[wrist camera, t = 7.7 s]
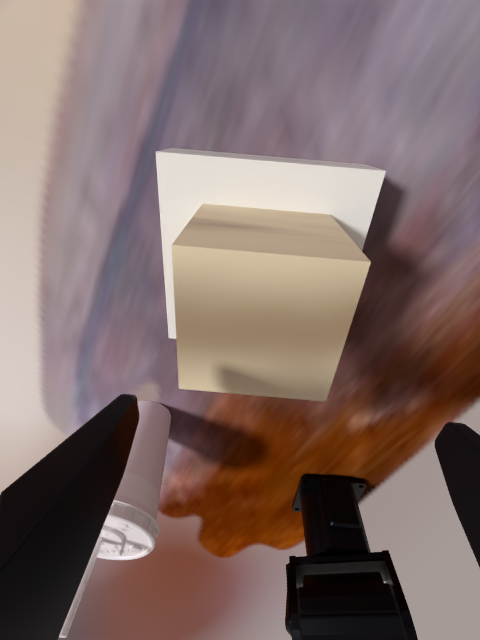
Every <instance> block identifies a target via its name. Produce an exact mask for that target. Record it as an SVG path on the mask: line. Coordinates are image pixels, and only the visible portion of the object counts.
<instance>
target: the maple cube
mask: <svg viewBox="0 0 480 640" xmlns="http://www.w3.org/2000/svg"><path fill="white" fill-rule="evenodd" d="M172 264H173V283H174V302H175V321H176V340H177V359H178V378H179V389H189V390H200V391H212V392H223V393H235V394H246V395H257V396H269V397H280V398H292V399H303V400H314V401H326V400H327V397H328V394H329V391H330V388H331V385H332V381H333V378H334V375H335V372H336V369H337V366H338V363H339V360H340V357H341V354H342V351H343V347H344V344H345V341H346V338H347V335H348V332H349V329H350V326H351V323H352V320H353V317H354V313H355V310H356V307H357V304H358V301H359V298H360V295H361V292H362V289H363V286H364V283H365V279H366V276H367V273H368V270H369V267H370V264H371V261H370V260H369V259H368V258H367V257H366V256H365V254H364V253H363V252H362V251H361V250H360V249H359V247H358V246H357V245H356V244H355V243H354V242H353V240H352V239H351V238H350V237H349V236H348V235H347V233H346V232H345V231H344V230H343V229H342V228H341V226H340V225H339V224H338V223H337V222H336V221H335V219H334V218H333V217H332V216H331V215H330V214H319V213H307V212H296V211H284V210H272V209H261V208H249V207H237V206H226V205H214V204H202V205H201V206H200V207H199V209H198V210H197V211H196V213H195V214H194V215H193V217H192V218H191V219H190V221H189V222H188V224H187V225H186V226H185V228H184V229H183V230H182V232H181V233H180V234H179V236H178V237H177V238H176V240H175V241H174V242H173V244H172Z"/></svg>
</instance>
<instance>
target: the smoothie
mask: <svg viewBox="0 0 480 640" xmlns="http://www.w3.org/2000/svg"><path fill="white" fill-rule="evenodd" d="M138 408H139V415H140V416H139V423H138V426H137V430H136V433H135V437H134V440H133V444H132V448H131V451H130V455H129V458H128V462H127V465H126V469H125V472H124V475H123V478H122V480H121V483H120V485H119V488H118V490H117V493H116V495H115V498H114V500H113V503H112V505H111V508H110V510H109V513H108V515H107V518H106V520H105V523H104V525H103V528H102V530H101V533H100V535H99V538H98V540H97V543H96V545H95V548H94V550H93V553H92V555H91V558H90V560H89V563H88V565H87V568H86V570H85V573H84V575H83V578H82V580H81V583H80V585H79V588H78V590H77V593H76V595H75V598H74V600H73V603H72V605H71V608H70V610H69V612H68V615H67V617H66V620H65V622H64V625H63V627H62V630H61V632H60V635H59V637H61V638H66V637H67V635H68V632H69V629H70V627H71V624H72V621H73V619H74V616H75V613H76V611H77V608H78V605H79V603H80V600H81V597H82V595H83V592H84V589H85V587H86V584H87V582H88V579H89V576H90V574H91V571H92V568H93V566H94V563H95V560H96V558H97V557H98V558H103V559H111V560H130V559H136V558H140V557H143V556H145V555H147V554H149V553H150V552H151V551H152V550H153V549H154V546H155V542H156V538H157V535H158V534H159V525H158V523H157V521H156V517H157V511H158V505H159V499H160V490H161V484H162V477H163V470H164V464H165V457H166V450H167V443H168V437H169V430H170V423H171V414H170V412H169V410H168V409H167V408H166V407H165V406H163V405H162V404H160V403H157V402H154V401H139V402H138Z"/></svg>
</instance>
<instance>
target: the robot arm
mask: <svg viewBox="0 0 480 640" xmlns="http://www.w3.org/2000/svg"><path fill="white" fill-rule="evenodd" d="M139 416H140V415H139V408H138V402H137V397H136V396H135V395H129V394H122V395H120V396H118V397H117V398H116V399H115V400H113V401H112V402H111V403H110V404H109V405H107V406H106V407H105V408H104V409H102V410H101V411H100V412H99V413H98V414H96V415H95V416H94V417H93V418H91V419H90V420H89V421H88V422H87V423H85V424H84V425H83V426H82V427H80V428H79V429H78V430H77V431H76V432H74V433H73V434H72V435H71V436H69V437H68V438H67V439H66V440H65V441H63V442H62V443H61V444H60V445H58V447H56V448H55V449H54V450H52V451H51V452H50V453H49V454H47V455H46V456H45V457H44V458H43V459H41V460H40V461H39V462H38V463H37V464H35V465H34V466H33V467H32V468H31V469H29V470H28V471H27V472H26V473H24V474H23V475H22V476H21V477H19V478H18V479H17V480H16V481H15V482H13V483H12V484H11V485H10V486H9V487H7V488H6V489H5V490H4V491H2V492H1V495H0V640H58V637H59V635H60V632H61V630H62V627H63V625H64V622H65V620H66V617H67V615H68V612H69V610H70V608H71V605H72V603H73V600H74V598H75V595H76V593H77V590H78V588H79V585H80V583H81V580H82V578H83V575H84V573H85V570H86V568H87V565H88V563H89V560H90V558H91V555H92V553H93V550H94V548H95V545H96V543H97V540H98V538H99V535H100V533H101V530H102V528H103V525H104V523H105V520H106V518H107V515H108V513H109V510H110V508H111V505H112V503H113V500H114V498H115V495H116V493H117V490H118V488H119V485H120V483H121V480H122V478H123V475H124V472H125V469H126V465H127V462H128V458H129V455H130V451H131V448H132V444H133V440H134V437H135V433H136V430H137V426H138V423H139ZM435 449H436V452H437V455H438V458H439V462H440V465H441V468H442V471H443V475H444V478H445V481H446V484H447V487H448V490H449V493H450V496H451V499H452V502H453V505H454V507H455V510H456V512H457V514H458V517H459V520H460V522H461V524H462V527H463V529H464V531H465V534H466V536H467V538H468V541H469V543H470V546H471V548H472V550H473V553H474V555H475V557H476V560H477V562H478V565H479V567H480V435H479V434H477V433H476V432H475V431H473V430H472V429H471V428H469V427H468V426H466V425H465V424H462V423H453V422H448V423H446V424H445V426H444V427H443V429H442V430H441V432H440V433H439V435H438V436H437V438H436V440H435ZM365 488H366V483H365V481H364V480H358V479H347V478H335V477H324V476H313V475H303V476H302V477H301V479H300V482H299V485H298V488H297V492H296V495H295V498H294V501H293V504H292V509H293V511H297V512H302V518H303V527H304V536H305V544H306V553H307V556H304V557H296V556H290V557H289V558H290V563H288V564H287V565H286V574H287V600H286V617H285V625H286V630H287V632H288V633H289V634H290V635H291V636H292V640H418V639H417V635H416V631H415V627H414V624H413V621H412V618H411V614H410V611H409V608H408V605H407V602H406V599H405V596H404V594H403V591H402V588H401V585H400V582H399V579H398V577H397V574H396V571H395V568H394V565H393V562H392V560H391V557H390V554H389V551H388V550H386V551H382V552H374V553H371V552H370V548H369V544H368V541H367V537H366V533H365V529H364V525H363V522H362V518H361V515H360V511H359V507H358V501H359V499H360V497H361V495H362V494H363V492H364V490H365ZM383 581H386V583H384V582H383Z"/></svg>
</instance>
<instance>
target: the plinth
mask: <svg viewBox="0 0 480 640" xmlns="http://www.w3.org/2000/svg"><path fill="white" fill-rule="evenodd" d="M156 163H157V177H158V192H159V206H160V220H161V235H162V249H163V263H164V277H165V292H166V306H167V320H168V334H169V338H173V339H176V321H175V302H174V283H173V264H172V244H173V242H174V241H175V240H176V238H177V237H178V236H179V234H180V233H181V232H182V230H183V229H184V228H185V226H186V225H187V224H188V222H189V221H190V219H191V218H192V217H193V215H194V214H195V213H196V211H197V210H198V209H199V207H200V206H201V205H202V204H214V205H226V206H237V207H249V208H261V209H272V210H284V211H296V212H307V213H319V214H330V215H331V216H332V217H333V218H334V219H335V221H336V222H337V223H338V224H339V225H340V226H341V228H342V229H343V230H344V231H345V232H346V233H347V235H348V236H349V237H350V238H351V239H352V240H353V242H354V243H355V244H356V245H357V246H358V247H359V249H360V250H361V251H362V250H363V246H364V243H365V240H366V236H367V233H368V230H369V226H370V223H371V219H372V216H373V213H374V209H375V206H376V203H377V199H378V196H379V193H380V189H381V186H382V183H383V179H384V176H385V173H386V171H385V170H381V169H378V168H375V167H372V166H369V165H366V164H356V163H344V162H332V161H320V160H309V159H297V158H285V157H273V156H261V155H249V154H237V153H225V152H214V151H202V150H190V149H178V148H170V149H165V150H161V151H156Z"/></svg>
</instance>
